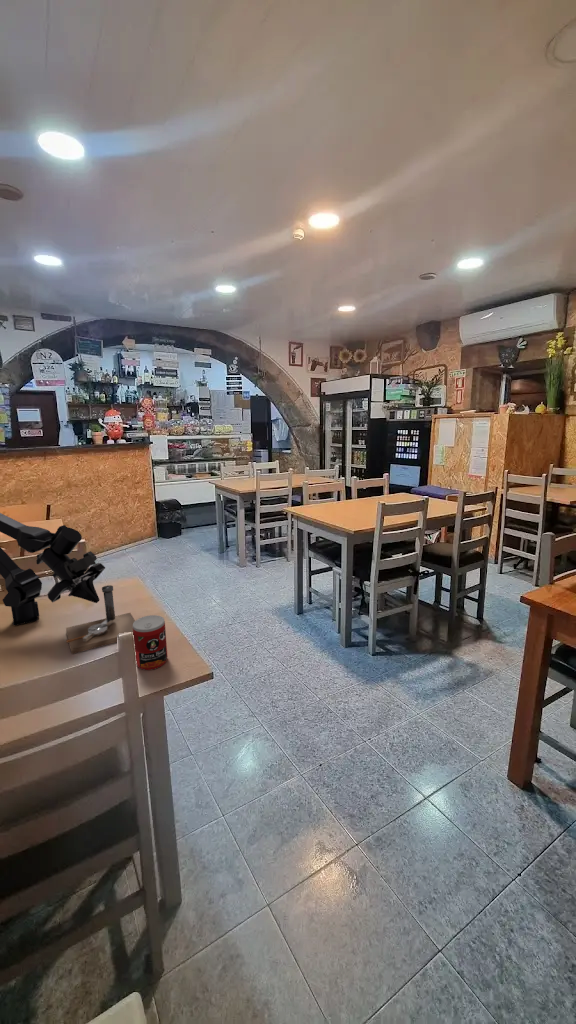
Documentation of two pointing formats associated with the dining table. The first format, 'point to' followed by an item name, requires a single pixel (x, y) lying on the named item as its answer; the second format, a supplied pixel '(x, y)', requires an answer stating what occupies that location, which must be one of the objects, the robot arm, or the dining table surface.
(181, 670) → the dining table surface
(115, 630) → the stand
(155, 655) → the canned food
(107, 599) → the crank handle
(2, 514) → the robot arm
